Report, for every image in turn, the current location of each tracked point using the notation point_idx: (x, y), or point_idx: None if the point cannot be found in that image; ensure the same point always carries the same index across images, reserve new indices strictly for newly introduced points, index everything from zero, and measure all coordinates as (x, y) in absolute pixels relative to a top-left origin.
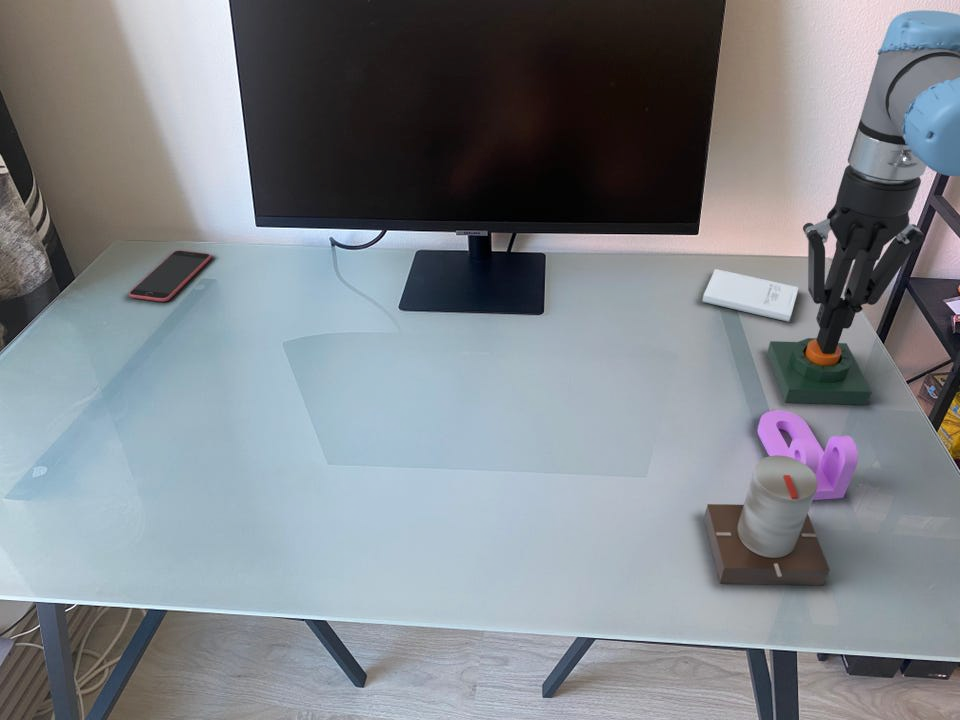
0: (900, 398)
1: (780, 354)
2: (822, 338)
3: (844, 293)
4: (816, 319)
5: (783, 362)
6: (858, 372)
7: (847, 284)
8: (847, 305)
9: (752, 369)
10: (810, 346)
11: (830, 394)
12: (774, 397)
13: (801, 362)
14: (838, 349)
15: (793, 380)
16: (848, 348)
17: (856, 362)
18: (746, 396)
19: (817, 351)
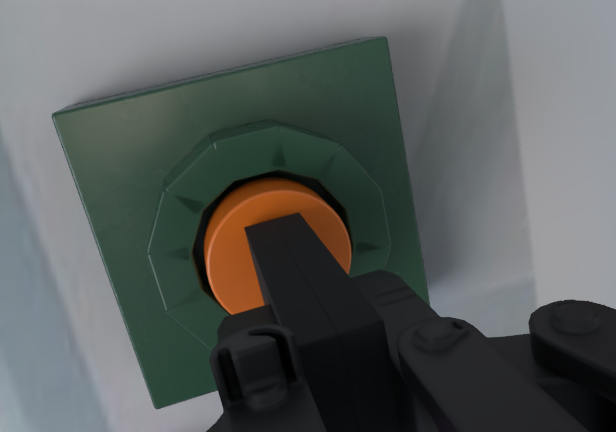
0: (512, 230)
1: (107, 207)
2: (265, 300)
3: (402, 356)
4: (220, 326)
5: (124, 259)
6: (405, 229)
7: (441, 409)
8: (404, 430)
9: (19, 229)
10: (218, 271)
11: None
12: (120, 360)
13: (187, 329)
14: (339, 254)
15: (169, 355)
16: (389, 76)
17: (407, 167)
18: (21, 389)
19: (248, 298)
